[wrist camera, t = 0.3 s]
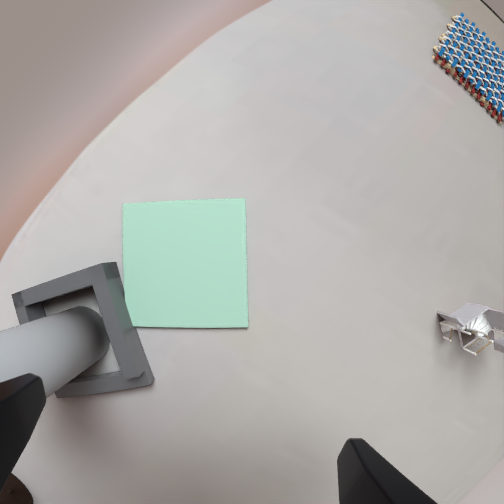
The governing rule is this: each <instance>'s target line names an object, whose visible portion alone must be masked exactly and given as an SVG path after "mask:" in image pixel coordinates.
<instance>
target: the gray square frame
mask: <svg viewBox="0 0 504 504" xmlns="http://www.w3.org/2000/svg"><path fill="white" fill-rule="evenodd" d="M91 286H93V288H94V292H95V295H96V299H97V302H98V305H99V309H100V312H101V315H102V318H103V321H104V324H105V327H106V330H107V333H108V336H109V339H110V342H111V345H112V348H113V350H114V353H115V356H116V359H117V361H118V364H119V366H120V369H121V371H117V372H112V373H106V374H100V375H95V376H89V377H82V378H76V379H72V380H70V381H69V382H68V383H66V384H65V385H64V386H62V387H61V388H59V389H58V390H57V391H55V394H56V397H57V398H65V397H74V396H82V395H90V394H97V393H104V392H111V391H117V390H124V389H130V388H136V387H141V386H147V385H150V384H151V383H152V382H153V380H154V376H153V374H152V371H151V369H150V366H149V363H148V361H147V358H146V355H145V353H144V350H143V347H142V344H141V341H140V338H139V336H138V333H137V330H136V327H135V326H133V324H132V321H131V318H130V315H129V312H128V309H127V306H126V302H125V293H124V288H123V285H122V282H121V278H120V274H119V271H118V267H117V263H116V262H109V263H101V264H98V265H95V266H92V267H89V268H86V269H83V270H80V271H77V272H74V273H71V274H68V275H65V276H62V277H59V278H57V279H54V280H51V281H48V282H45V283H42V284H39V285H37V286H34V287H31V288H28V289H25V290H23V291H20V292H17V293H14V294H12V298H13V302H14V306H15V309H16V313H17V317H18V320H19V323H20V325H22V324H25V323H28V322H31V321H34V320H37V319H40V318H43V317H46V315H45V312H44V308H43V305H42V302H43V301H46V300H49V299H53V298H56V297H59V296H62V295H65V294H68V293H72V292H75V291H78V290H81V289H85V288H88V287H91Z"/></svg>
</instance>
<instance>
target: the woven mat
mask: <svg viewBox="0 0 504 504" xmlns="http://www.w3.org/2000/svg"><path fill="white" fill-rule="evenodd" d="M463 16H464V14H463V13H461V15H460V16H452V20H453V21H455V23H454V22H452V23H451V24H448V25H447V26H448V28H449V30H450V31H448V30H447V31H446V35H445V34H444V33H442V35H441V36H442V37H439V40H440V42H442V44H440V43H439V45H438V46H434V51H435V53H436V54H437V55H436V56H434V55H432V58H433V59H434V60H435V61H436V62H437V63H438V64H439V65H441V66H442V67H443V68H446V72H447V73H449V72H450V74H451V75H452V76H453V77H455V78H456V79H457V80H458V81H459V83H461V84H462V85H463V86H464V87H465V88H466V89H467V90H468V91H469V92H470V93H471V94H472V95H473V96H474V97H475V98H476V99H477V100H478V101H480V104H481V105H482V106H483V105H484V107H485V108H486V109H487V110H488V111H489V112H490V113H491V115H492V116H493V117H494V118H495V119H497V120H498V121H499V122H500V123H501V124H502V121H501V119H504V51H502V54H501V53H500V54H499V52H500V51H499V48H498V47H496V48H494V46H495V44H496V43H495V42H494V41H493V42H492V44H489V42H490V41H489V38H486V39H485V38H484V36H485V34H486V33H485V32H484V31H483V32H482V35H480V34H479V29H478V28H476V29H474V26H475V23H474V22H473V23H472V25H468V21H469V20H468V19H465V21H464V20H463ZM462 21H463V22H462ZM459 26H460V27H461V28H460V27H459ZM466 27H467V28H466ZM472 30H473V31H474V32H473V31H472ZM456 31H457V32H456ZM462 34H463V35H462ZM477 37H478V38H477ZM453 38H454V39H453ZM467 40H468V41H467ZM483 40H484V41H483ZM457 44H458V45H457ZM448 49H449V50H448ZM443 53H444V54H446V56H445V55H443ZM453 53H454V54H455V55H454V54H453ZM491 56H492V57H491ZM497 56H498V57H497ZM439 57H441V58H442V59H443V61H441V60H440V59H439ZM450 58H451V60H452V61H451V60H450ZM457 63H458V64H457ZM471 69H472V70H471ZM458 73H459V74H460V75H461V78H460V77H459V76H458ZM490 75H491V76H490ZM464 78H465V79H464ZM463 80H464V81H463ZM489 81H490V82H489ZM471 85H472V86H473V88H471V87H470V86H471ZM476 90H477V91H478V94H477V93H476V92H475V91H476ZM492 107H493V108H494V109H493V110H492V109H491V108H492ZM497 112H498V116H497V115H496V113H497Z"/></svg>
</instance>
